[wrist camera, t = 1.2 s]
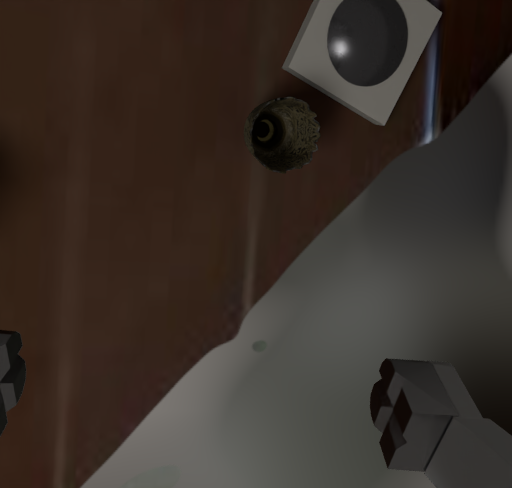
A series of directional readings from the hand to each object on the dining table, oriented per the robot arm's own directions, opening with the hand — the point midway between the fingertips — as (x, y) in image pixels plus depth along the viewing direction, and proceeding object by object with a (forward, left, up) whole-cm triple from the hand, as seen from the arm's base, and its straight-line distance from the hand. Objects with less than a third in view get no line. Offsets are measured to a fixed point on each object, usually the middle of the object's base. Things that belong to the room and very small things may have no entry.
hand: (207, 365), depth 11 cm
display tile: (-22, +19, -43) cm, 52 cm away
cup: (-8, +13, -43) cm, 46 cm away
